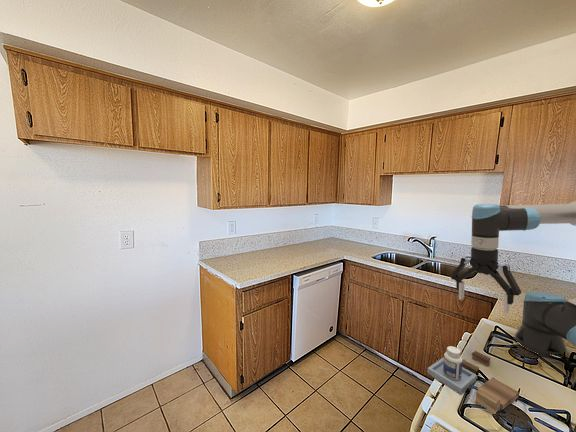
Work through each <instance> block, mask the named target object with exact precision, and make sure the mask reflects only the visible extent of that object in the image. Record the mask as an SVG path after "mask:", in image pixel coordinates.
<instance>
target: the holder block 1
mask: <svg viewBox="0 0 576 432" xmlns="http://www.w3.org/2000/svg"><path fill="white" fill-rule="evenodd" d="M462 367H463V368H465V369H467V370H469V371H470V372H472V373H474V374H476V372H477V371H478V370H479V371H480V367H479V366H477V365H475V364H473V363H471V362H469V361H467V360H465V359H464V358H462Z"/></svg>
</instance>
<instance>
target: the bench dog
mask: <svg viewBox="0 0 576 432" xmlns="http://www.w3.org/2000/svg"><path fill="white" fill-rule="evenodd" d="M476 391H477V390H476ZM475 404H476V405H478V406H479V405H481V406H484V407H487V409H484V411H487V412H488V413H490V414H491V415H493V414H496V412H497V411H498V410H499V411H500V398H498V397H496V396H495V395H493V394H491V393H489V392H488V391H486V390H484V389H482V388H480V389H479V390H478V391H477V392H475ZM496 415H497V414H496Z"/></svg>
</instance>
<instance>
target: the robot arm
mask: <svg viewBox="0 0 576 432" xmlns="http://www.w3.org/2000/svg"><path fill="white" fill-rule="evenodd" d="M542 224H543V225H544V224H545V225H546V224H548V225H550V224H555V225H556V224H568V225H569V224H570V225H571V226H574V227H575V226H576V200H575V201H571V202H569V203H554V204H553V203H551V204H548V203H546V204H515V205H514V204H512V205H510V204H509V205H508V204H507V205H499V204H496V203H479V204H474V205H473V207H472V211H471V240H470V241H471V249H470V258H468V257H467V256H463V257H461V258H460V260H459V261H460V263H459V265H458V266H457V267H456V269H455V270H454V272H453V273H452V275H451V276H450V279H451V280H454V281H455V282H456V287H455V288H456V290H458V300H459V301H460V300H463V299H464V298H465V281H464V280H465V279H466V278H468V277H469V276H470V275H471V274H473V273H475V272H476V273H477V274H483V275H485V276H486V275H487V276H489V275H490V276H491V277H492V278H493V279H494V281H495V282H497V284H498V285H499V286H500V287H501V288H502V289H503V291H504V292H505V293H504V295H503V311H502V312H503V314H505V315H506V314H508V313H509V312H510V305H512V304H514V299H515V298H514V296H519V295H521V294H522V290H521V289H520V286H519V284H518V283H517V281H516V279H515V277H514V275H513V274H512V272H511V266H510V264H509V263H506V264H500V263H499V250H498V248H499V241H500V239H499V237H500V236H499V235H500V232H502V231H503V232H505V231H509V232H510V231H527V230H528V231H529V230H530V231H531V230H535V229H537V228H538V227H539V226H540V225H542ZM468 264H470V265H471V267H470V268H469V269H468V270H467V271H465V272H464V273H463V274H462V275H460V274H461V273H462V272H463V270H464V269H465V267H466V266H467V265H468ZM498 269H499V270H500V271H501V272H502V273H503V275H504V277H505V279H506V280H505V279H504V278H503V277H502V276H501V274H500V272H499V271H498ZM459 275H460V276H459ZM521 318H522V321H521V324H520V326H519V327H518V329H517V331H516V333H515V336H514V340H515V339H517V340H518V341H519V343H520V344H521V345H522V346H524V347H526V348H528V349H530V350H532V351H534V352H536V353H538V354H539V355H538V356H540V357H544V358H548V359H552V358H551V357H550V356H549V355H550V354H551V355H552V354H554V355H555V354H561V355H563V354H564V352H565V355H566V356H567V346H566V344H565V341H564V339H565V340H566V341H567V342H569V344H571V345H573V346H576V297H574V298H571V299H566V297H565V296H563V295H561V294H557V293H552V292H546V291H536V290H534V291H533V290H530V291H527V292H526V293H525V294H524V298H523V306H522V317H521Z"/></svg>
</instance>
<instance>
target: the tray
mask: <svg viewBox="0 0 576 432" xmlns="http://www.w3.org/2000/svg"><path fill="white" fill-rule="evenodd" d="M443 366H444V356H443V357H442V358H440V359H439V360H437V361H436V362H434V363H433V364H431V365H429V366H428V367H427V374H428V375H429V376H431V377H433V378H434V379H436V380H438V381H439V382H441V383H442V384H444V385H445V386H446V387H448V388H450V389H452V390H453V391H455V392H457V393H458V394H459V395H462V394H463V393H464V392H466V391H467V390H468V389H469V388H470V387H471V386H472V385H473V384H474V383H476V382H477V381H476V379H477V380H478V375H476V374H474V373H472V372H470V371H469V370H467V369H465V368H463V367H462V375H461V379H460V380H452V379H449V378H448V377H446V376H445V375H444V373H443ZM475 381H476V382H475ZM470 385H471V386H470ZM469 386H470V387H469ZM468 387H469V388H468ZM467 388H468V389H467Z"/></svg>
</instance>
